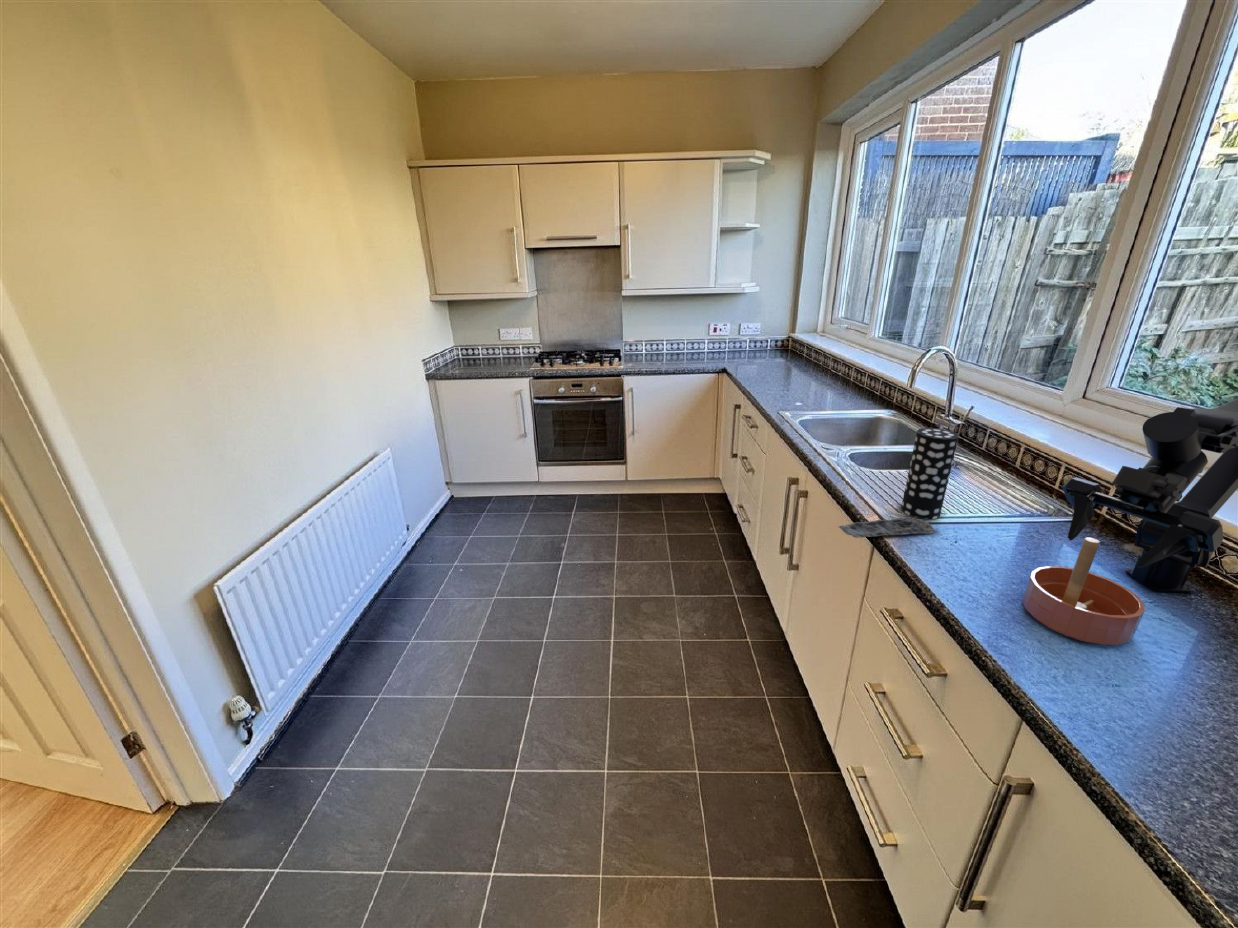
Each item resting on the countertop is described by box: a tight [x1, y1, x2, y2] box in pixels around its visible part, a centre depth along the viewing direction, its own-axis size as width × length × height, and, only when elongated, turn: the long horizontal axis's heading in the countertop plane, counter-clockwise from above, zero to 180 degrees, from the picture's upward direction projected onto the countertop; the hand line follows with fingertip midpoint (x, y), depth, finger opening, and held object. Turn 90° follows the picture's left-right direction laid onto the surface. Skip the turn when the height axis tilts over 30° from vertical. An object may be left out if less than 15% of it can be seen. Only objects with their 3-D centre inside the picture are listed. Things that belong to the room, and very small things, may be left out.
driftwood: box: [838, 517, 937, 539], centre depth 115 cm, size 21×7×2 cm, turn 96°
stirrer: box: [1062, 536, 1101, 610], centre depth 83 cm, size 10×2×15 cm, turn 115°
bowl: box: [1021, 565, 1146, 646], centre depth 85 cm, size 14×14×6 cm
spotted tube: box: [900, 427, 960, 520], centre depth 120 cm, size 8×8×20 cm
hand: (1102, 552), depth 81 cm, fingers open, 9 cm apart
